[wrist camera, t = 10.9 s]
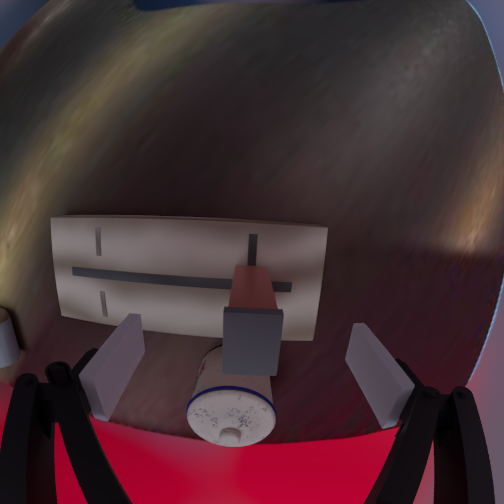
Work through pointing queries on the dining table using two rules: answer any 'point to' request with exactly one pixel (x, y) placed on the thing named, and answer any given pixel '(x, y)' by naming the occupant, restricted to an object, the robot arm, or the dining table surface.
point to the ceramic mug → (7, 341)
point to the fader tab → (251, 325)
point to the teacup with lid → (230, 405)
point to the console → (183, 269)
